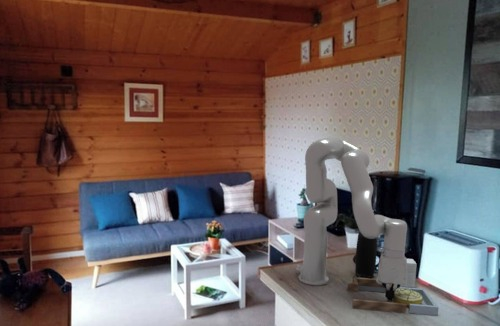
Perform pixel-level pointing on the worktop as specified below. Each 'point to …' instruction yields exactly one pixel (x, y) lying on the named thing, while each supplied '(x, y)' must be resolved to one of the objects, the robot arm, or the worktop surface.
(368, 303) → the low maze walls
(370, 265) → the portable speaker
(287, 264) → the worktop surface
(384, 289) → the mat
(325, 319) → the worktop surface
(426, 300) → the frame
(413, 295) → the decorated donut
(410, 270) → the small box
